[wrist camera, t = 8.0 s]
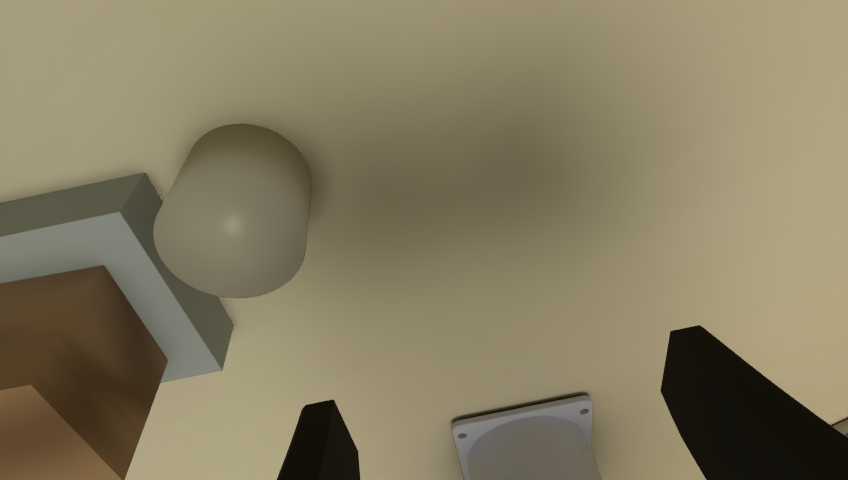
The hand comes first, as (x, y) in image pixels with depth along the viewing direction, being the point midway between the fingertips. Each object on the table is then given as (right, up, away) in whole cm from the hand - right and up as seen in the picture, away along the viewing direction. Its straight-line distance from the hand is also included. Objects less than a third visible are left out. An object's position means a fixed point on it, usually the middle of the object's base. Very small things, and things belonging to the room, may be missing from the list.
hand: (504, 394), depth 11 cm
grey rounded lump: (-8, +6, +8) cm, 13 cm away
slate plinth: (-15, +2, +10) cm, 18 cm away
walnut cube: (-15, 0, +8) cm, 17 cm away
